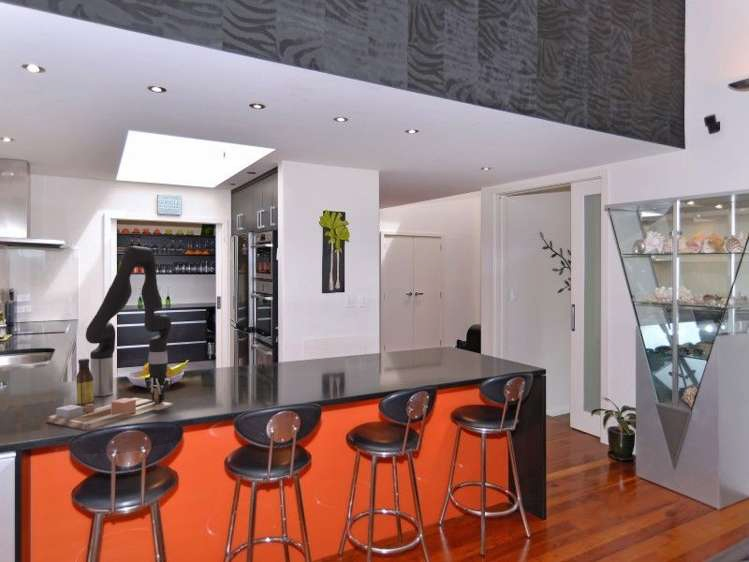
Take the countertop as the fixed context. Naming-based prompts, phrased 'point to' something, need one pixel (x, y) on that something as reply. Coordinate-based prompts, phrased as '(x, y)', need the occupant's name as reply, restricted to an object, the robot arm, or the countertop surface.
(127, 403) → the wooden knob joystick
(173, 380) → the fruit bowl
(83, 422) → the wooden backboard
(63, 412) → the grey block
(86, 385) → the sauce bottle
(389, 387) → the countertop surface
